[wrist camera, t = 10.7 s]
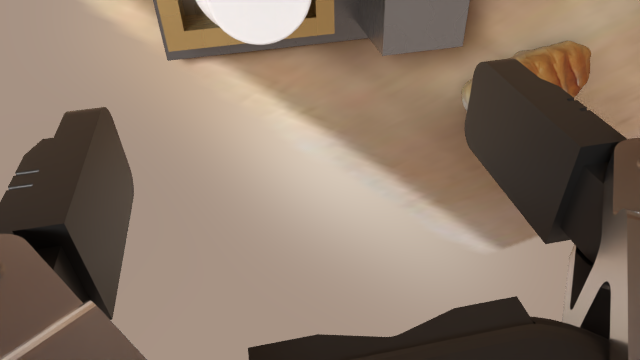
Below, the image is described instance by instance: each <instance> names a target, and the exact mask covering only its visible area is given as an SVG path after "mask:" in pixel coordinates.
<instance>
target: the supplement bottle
mask: <svg viewBox="0 0 640 360" xmlns="http://www.w3.org/2000/svg"><path fill="white" fill-rule="evenodd" d="M195 1H196V2H197V4H198V6H199V7H200V8H201V10H202V11H203V12H204V13H205V15H206V16H207V17H208V18H209V19H210V20H211V21H213V22H214V23H215V24H217V25H218V26H219V27H220V28H221V29H222V30H223V31H224V32H226V33H227V34H228V35H230V36H231V37H233V38H235V39H237V40H239V41H241V42H244V43H248V44H255V45H265V44H271V43H275V42H278V41H280V40H282V39H284V38H286V37H288V36H289V35H291V34H292V33H293V32H294V31H295V30H296V29H297V28H298V27H299V26H300V25H301V23H302V22H303V21H304V19H305V17H306V15H307V13H308V11H309V8H310V5H311V0H195Z"/></svg>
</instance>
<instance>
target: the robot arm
mask: <svg viewBox="0 0 640 360" xmlns="http://www.w3.org/2000/svg"><path fill="white" fill-rule="evenodd" d="M465 136H466V140H467V143H468V146H469V148H470V149H471V150H472V152H473V153H474V154H475V156H476V157H477V158H478V159H479V161H480V162H481V163H482V164H483V166H484V167H485V168H486V169H487V171H488V172H489V173H490V174H491V176H492V177H493V178H494V180H495V181H496V182H497V183H498V185H499V186H500V187H501V188H502V190H503V191H504V192H505V193H506V195H507V196H508V197H509V199H510V200H511V201H512V202H513V204H514V205H515V206H516V207H517V209H518V210H519V211H520V212H521V214H522V215H523V216H524V217H525V219H526V220H527V221H528V223H529V224H530V225H531V226H532V228H533V229H534V230H535V231H536V233H537V234H538V235H539V236H540V238H541V239H542V240H543V242H544V243H545V244H549V243H554V242H560V241H566V240H572V242H573V243H574V247H573V249H572V252H571V254H570V258H569V266H568V275H567V283H566V293H565V302H564V310H563V319H562V322H559V321H555V320H551V319H545V318H538V317H530V316H529V315H528V313H527V312H526V310H525V308H524V307H523V305H522V304H521V302H520V301H519V300H518V298H517V297H511V298H506V299H500V300H495V301H490V302H485V303H479V304H474V305H469V306H465V307H459V308H454V309H452V310H450V311H448V312H446V313H444V314H441V315H439V316H437V317H435V318H433V319H431V320H429V321H427V322H425V323H423V324H420V325H418V326H416V327H414V328H412V329H410V330H408V331H406V332H404V333H402V334H399V335H397V336H393V337H369V336H343V335H313V336H307V337H303V338H297V339H292V340H287V341H281V342H276V343H271V344H266V345H261V346H256V347H250V348H248V353H249V360H640V138H633V139H626V138H625V137H624V136H623V135H621V134H620V133H619V132H617V131H616V130H615V129H613V128H612V127H611V126H610V125H608V124H607V123H606V122H604V121H603V120H602V119H601V118H599V117H598V116H597V115H595V114H594V113H593V112H592V111H590V110H588V111H587V109H586V107H585V106H584V105H583V104H581V103H580V102H579V101H577V100H575V101H574V97H572V96H571V95H570V94H568V93H567V92H566V91H565V90H563V89H562V88H561V87H559V86H557V85H555V84H553V83H550V82H548V81H546V80H543V79H541V78H539V77H538V76H537V75H535V74H534V73H533V72H532V71H530V70H529V69H528V68H527V67H525V66H524V65H523V64H522V63H520V62H519V61H518V60H516V59H513V58H512V59H503V60H495V61H487V62H481V63H479V64H478V65H477V67H476V69H475V71H474V75H473V81H472V86H471V92H470V97H469V103H468V109H467V114H466V120H465ZM8 188H9V190H7V191H6V192H5V194H4V196H3V198H2V200H1V202H0V360H147V359H146V358H145V357H144V356H143V355H142V354H141V353H140V351H139V350H138V349H137V348H136V347H135V346H134V345H133V344H132V343H131V342H130V341H129V340H128V339H127V338H126V336H125V335H124V334H123V333H122V332H121V331H120V330H119V329H118V328H117V327H116V326H115V325H114V324H113V323H112V321H111V319H112V317H113V312H114V306H115V300H116V295H117V289H118V283H119V277H120V271H121V266H122V260H123V255H124V249H125V243H126V237H127V231H128V225H129V220H130V214H131V209H132V203H133V196H134V187H133V179H132V174H131V170H130V167H129V164H128V161H127V158H126V155H125V153H124V150H123V147H122V144H121V141H120V138H119V135H118V133H117V130H116V127H115V124H114V121H113V118H112V116H111V114H110V112H109V110H108V109H107V108H106V107H102V108H94V109H85V110H77V111H70V112H66V113H65V114H64V116H63V118H62V120H61V123H60V125H59V127H58V129H57V131H56V134H55V136H54V138H48V139H42V140H41V141H40V142H39V143H38V144H37V145H36V146H35V147H33V148H32V149H31V150H30V151H29V152H28V153H26V154H25V155H24V157H23V159H22V161H21V163H20V165H19V167H18V169H17V170H16V176H13V178H12V181H11V182H10V184H9V186H8Z"/></svg>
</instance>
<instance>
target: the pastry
mask: <svg viewBox="0 0 640 360" xmlns="http://www.w3.org/2000/svg"><path fill="white" fill-rule="evenodd" d="M590 57H591V51H590V49H589V48H587V47H586V46H583V45H580V44H577V43H575V42H572V41H565V42H561V43H558V44H553V45H551V46H547V47H541V48H538V49H534V50H526V51H520V52H517V53H516V54H515V55H514V56H513V57H511V58H509V59H512V58H513V59H516V60H518V61H519V62H520V63H522V64H523V65H524V66H525V67H527V68H528V69H529V70H530V71H532V72H533V73H534V74H535V75H537V76H538V77H539V78H541V79H543V80H546V81H548V82H550V83H553V84H555V85H557V86H559V87H561V88H562V89H563V90H565V91H566V92H567V93H568V94H570V95H571V96H572V97H574V96H576V95H577V94H578V93H579V91H580V90H581V88H582V87H583V86H584V85H585V84H586V83H587V80H588V78H589V73H590ZM472 81H473V79H471V80H470V81H468V82H467V83H466V85H465V86H464V87H463V89H462V102H463V105H464V108H465V110H466V111H467V109H468V103H469V97H470V92H471V86H472Z"/></svg>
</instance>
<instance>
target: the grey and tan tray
mask: <svg viewBox="0 0 640 360" xmlns="http://www.w3.org/2000/svg"><path fill="white" fill-rule="evenodd" d="M153 2H154V6H155V10H156V15H157V19H158V23H159V27H160V31H161V35H162V39H163V43H164V48H165V52H166V56H167V60H168V61H169V60H178V59H187V58H195V57H204V56H213V55H222V54H231V53H240V52H249V51H258V50H267V49H276V48H285V47H294V46H303V45H311V44H320V43H329V42H338V41H347V40H356V39H365V38H369V39H370V40H371V42H372V43H373V44H374V45H375V47H376V48H377V49H378V51H379V52H380V53H381V55H382V56H385V55H393V54H402V53H410V52H419V51H427V50H436V49H444V48H453V47H461V46H463V40H464V34H465V27H466V21H467V14H468V8H469V2H470V0H311V5H310V8H309V11H308V13H307V15H306V17H305V19H304V21H303V22H302V23H301V25H300V26H299V27H298V28H297V29H296V30H295V31H294V32H293V33H292V34H291V35H289V36H288V37H286V38H284V39H282V40H280V41H278V42H275V43H271V44H265V45H255V44H248V43H244V42H241V41H239V40H237V39H235V38H233V37H231V36H230V35H228V34H227V33H226V32H224V31H223V30H222V29H221V28H220V27H219V26H218V25H217V24H215V23H214V22H213V21H211V20H210V19H209V18H208V17H207V16H206V15H205V13H204V12H203V11H202V10H201V8H200V7H199V6H198V4H197V2H196V1H195V0H153Z"/></svg>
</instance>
